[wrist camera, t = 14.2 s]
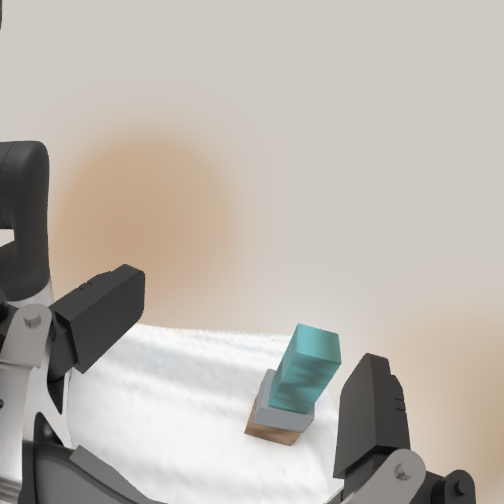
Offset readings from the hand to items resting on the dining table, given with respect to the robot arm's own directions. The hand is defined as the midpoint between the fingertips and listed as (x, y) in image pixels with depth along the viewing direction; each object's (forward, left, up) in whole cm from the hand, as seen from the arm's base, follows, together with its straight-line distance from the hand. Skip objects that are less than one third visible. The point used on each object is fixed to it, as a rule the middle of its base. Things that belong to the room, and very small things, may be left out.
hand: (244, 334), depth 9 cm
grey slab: (+6, +17, -26) cm, 32 cm away
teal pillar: (+6, +17, -22) cm, 29 cm away
